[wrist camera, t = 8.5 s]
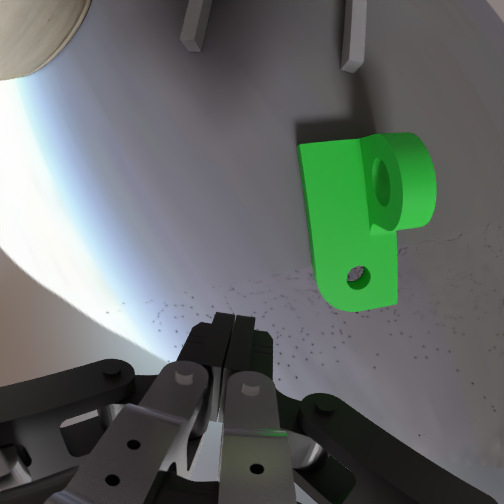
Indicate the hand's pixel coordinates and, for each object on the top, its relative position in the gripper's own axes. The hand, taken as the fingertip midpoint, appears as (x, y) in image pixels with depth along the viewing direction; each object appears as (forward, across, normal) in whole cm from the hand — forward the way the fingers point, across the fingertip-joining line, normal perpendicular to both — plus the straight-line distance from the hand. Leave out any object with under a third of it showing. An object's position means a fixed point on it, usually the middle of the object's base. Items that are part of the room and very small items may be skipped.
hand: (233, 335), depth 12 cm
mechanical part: (+12, -7, -3) cm, 14 cm away
